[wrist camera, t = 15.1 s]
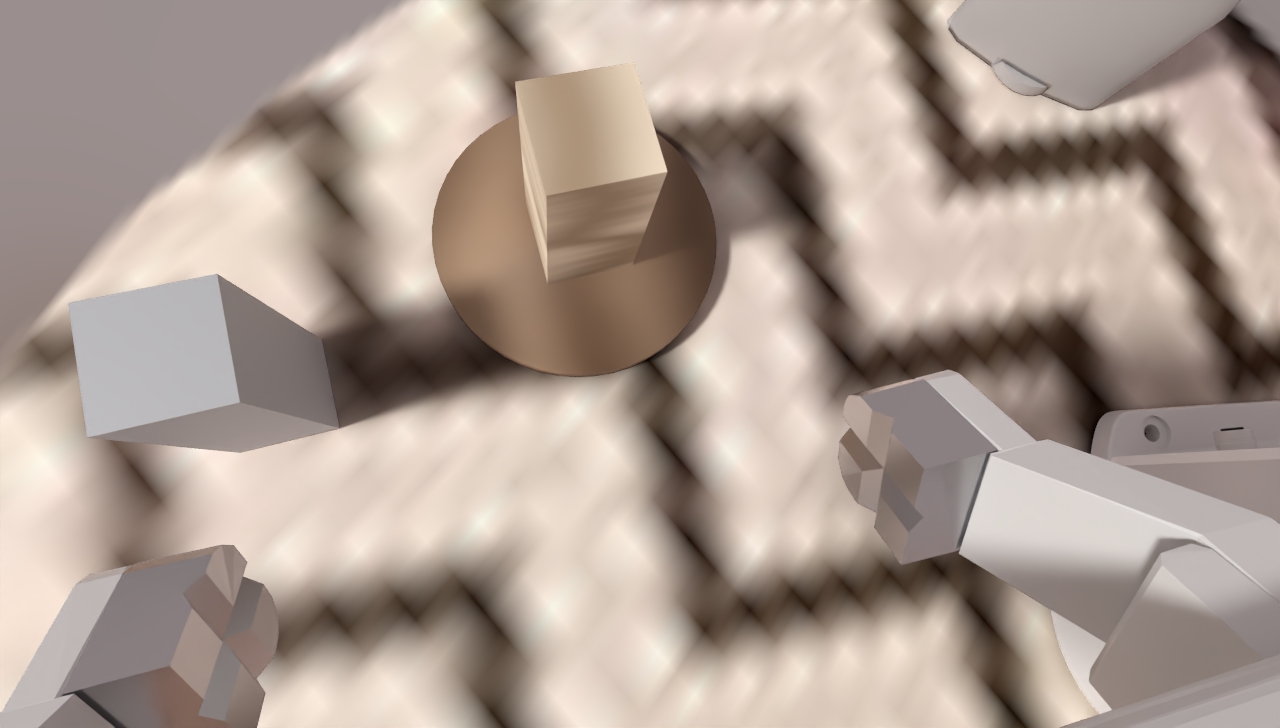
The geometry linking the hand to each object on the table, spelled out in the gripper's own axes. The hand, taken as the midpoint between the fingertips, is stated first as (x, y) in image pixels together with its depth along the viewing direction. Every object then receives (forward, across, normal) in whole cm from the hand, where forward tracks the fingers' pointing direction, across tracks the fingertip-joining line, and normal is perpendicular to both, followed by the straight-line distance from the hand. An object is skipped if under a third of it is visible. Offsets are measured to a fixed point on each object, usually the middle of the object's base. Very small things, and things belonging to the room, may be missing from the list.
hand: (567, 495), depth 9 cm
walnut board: (+22, -3, +6) cm, 23 cm away
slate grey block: (+18, +11, +9) cm, 23 cm away
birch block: (+21, -3, +6) cm, 22 cm away
